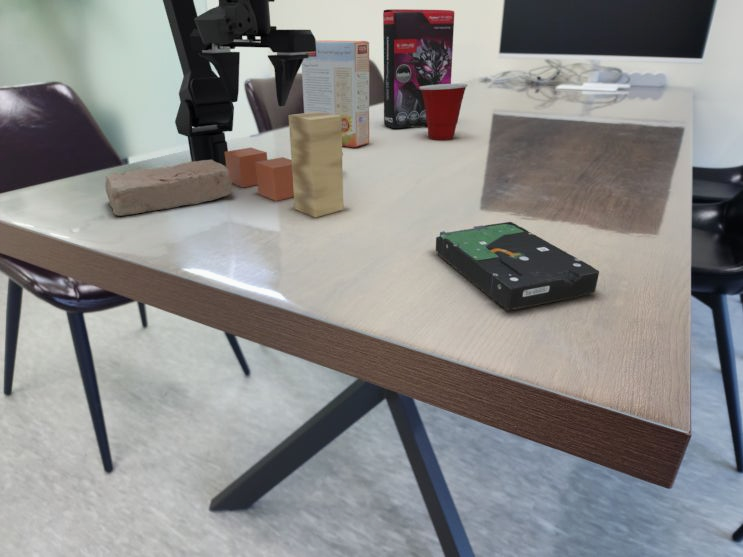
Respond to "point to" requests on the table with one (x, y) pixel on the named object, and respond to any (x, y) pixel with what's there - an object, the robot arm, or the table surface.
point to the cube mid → (275, 178)
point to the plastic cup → (442, 108)
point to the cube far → (244, 165)
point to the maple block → (317, 162)
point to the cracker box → (339, 86)
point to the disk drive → (516, 265)
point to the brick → (167, 187)
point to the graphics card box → (414, 61)
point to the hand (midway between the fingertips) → (257, 104)
